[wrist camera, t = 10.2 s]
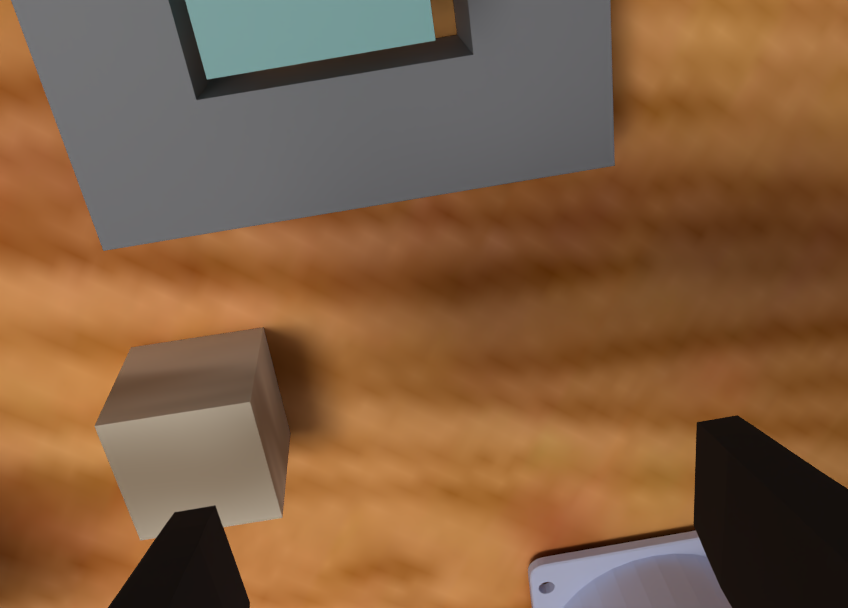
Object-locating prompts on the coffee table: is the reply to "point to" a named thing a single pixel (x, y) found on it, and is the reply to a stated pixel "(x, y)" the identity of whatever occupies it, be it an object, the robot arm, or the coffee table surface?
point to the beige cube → (198, 430)
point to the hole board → (315, 114)
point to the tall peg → (301, 30)
